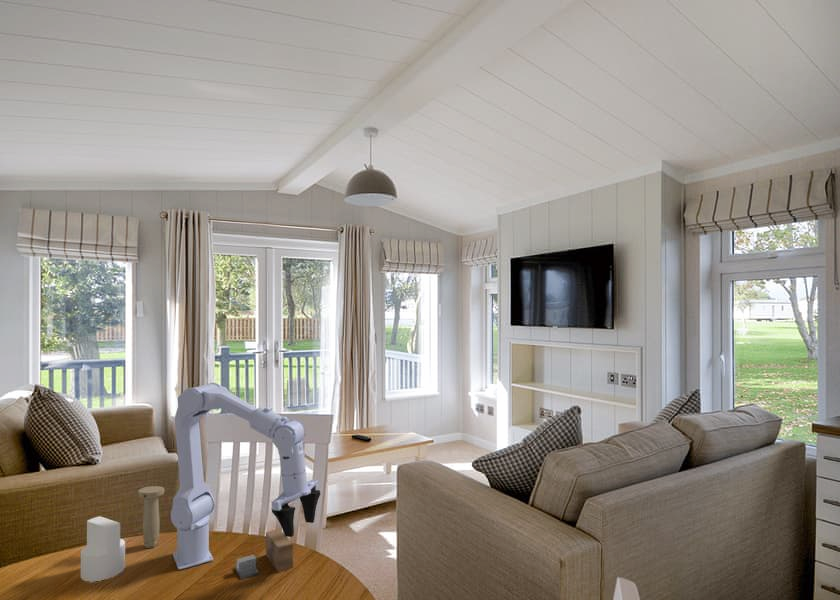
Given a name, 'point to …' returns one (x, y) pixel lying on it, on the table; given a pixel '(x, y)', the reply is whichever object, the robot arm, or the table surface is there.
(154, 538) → the handle
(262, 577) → the table surface
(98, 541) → the cylinder with rectangular tab
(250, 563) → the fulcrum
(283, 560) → the rectangular block
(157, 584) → the table surface
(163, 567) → the table surface
